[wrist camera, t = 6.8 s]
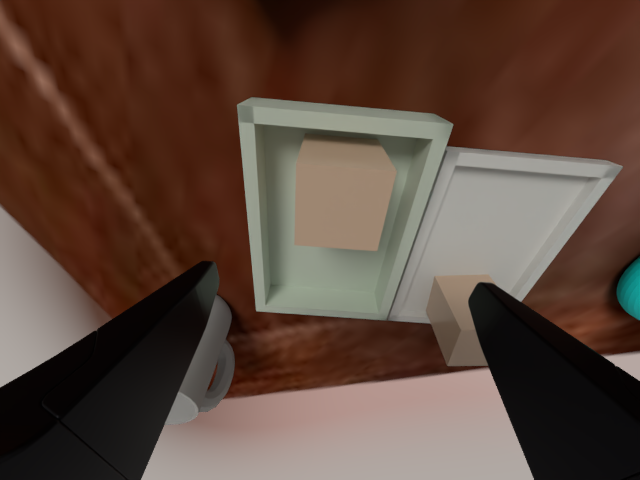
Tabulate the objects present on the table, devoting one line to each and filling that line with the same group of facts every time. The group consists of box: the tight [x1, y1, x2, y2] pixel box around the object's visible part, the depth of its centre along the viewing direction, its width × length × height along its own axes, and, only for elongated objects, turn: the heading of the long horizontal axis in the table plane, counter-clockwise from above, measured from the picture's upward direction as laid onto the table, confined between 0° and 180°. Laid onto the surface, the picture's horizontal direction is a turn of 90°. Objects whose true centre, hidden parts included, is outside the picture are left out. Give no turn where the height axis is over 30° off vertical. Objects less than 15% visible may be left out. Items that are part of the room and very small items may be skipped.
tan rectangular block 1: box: [294, 133, 397, 251], centre depth 15 cm, size 4×4×6 cm
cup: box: [164, 294, 235, 425], centre depth 24 cm, size 7×10×9 cm
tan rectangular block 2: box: [426, 274, 497, 366], centre depth 22 cm, size 4×4×6 cm
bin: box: [237, 97, 454, 320], centre depth 19 cm, size 11×16×3 cm
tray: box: [387, 146, 623, 324], centre depth 21 cm, size 11×16×1 cm
